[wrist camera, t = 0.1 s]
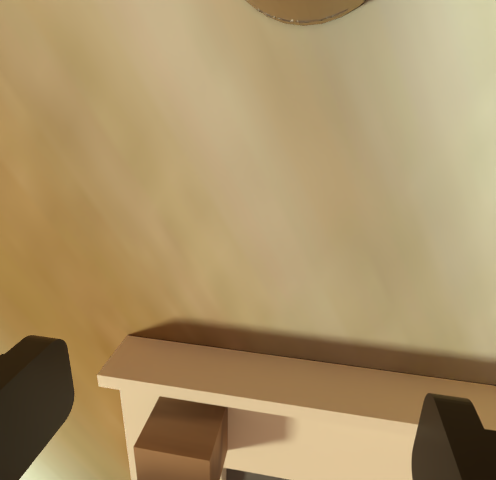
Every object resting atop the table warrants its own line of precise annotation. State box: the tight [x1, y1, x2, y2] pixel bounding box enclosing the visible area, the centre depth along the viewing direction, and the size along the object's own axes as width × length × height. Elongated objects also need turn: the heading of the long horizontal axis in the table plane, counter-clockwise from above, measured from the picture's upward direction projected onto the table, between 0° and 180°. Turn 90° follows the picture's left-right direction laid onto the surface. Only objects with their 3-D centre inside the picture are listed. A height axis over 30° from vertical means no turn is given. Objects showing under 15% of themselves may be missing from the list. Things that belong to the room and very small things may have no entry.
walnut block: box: [133, 396, 228, 480], centre depth 29 cm, size 5×5×5 cm
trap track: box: [97, 335, 496, 480], centre depth 30 cm, size 18×32×4 cm, turn 89°
